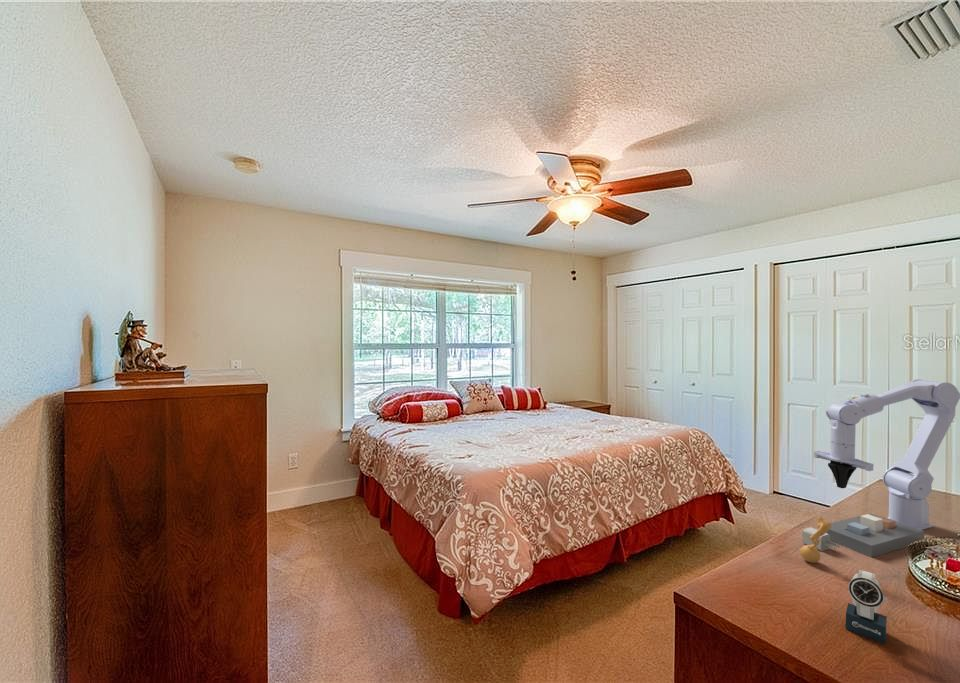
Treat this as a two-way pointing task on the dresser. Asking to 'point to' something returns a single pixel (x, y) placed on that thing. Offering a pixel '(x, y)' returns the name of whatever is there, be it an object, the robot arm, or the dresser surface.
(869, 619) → the watch
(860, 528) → the blue key
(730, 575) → the dresser surface
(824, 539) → the usb wall charger
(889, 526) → the terracotta key
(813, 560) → the figurine
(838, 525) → the key panel
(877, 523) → the white key
